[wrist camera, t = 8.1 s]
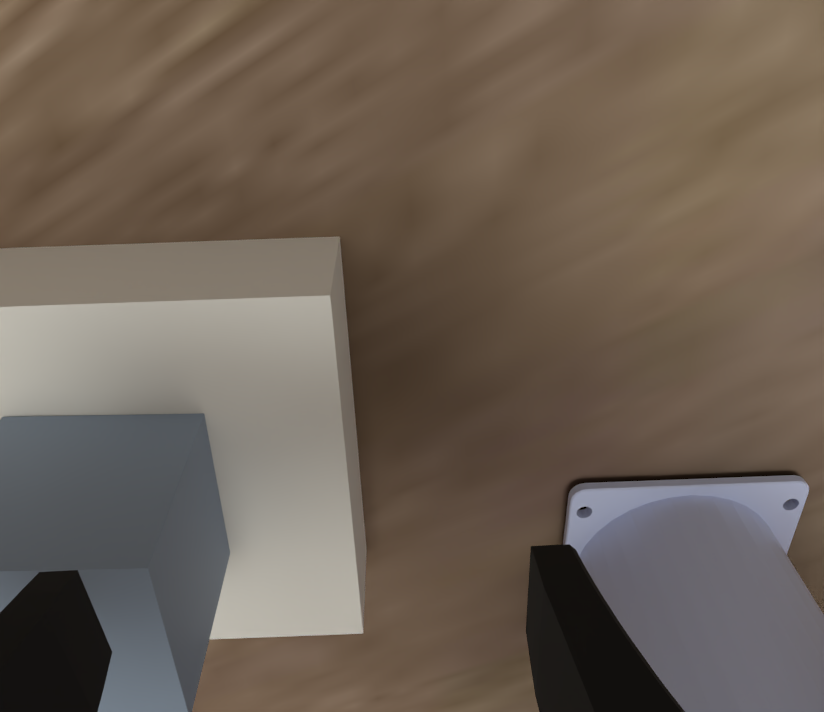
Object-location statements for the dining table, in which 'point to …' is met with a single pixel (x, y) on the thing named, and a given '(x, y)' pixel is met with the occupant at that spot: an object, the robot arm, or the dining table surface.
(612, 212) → the dining table surface
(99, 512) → the blue cube
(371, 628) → the dining table surface
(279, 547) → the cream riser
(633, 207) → the dining table surface
